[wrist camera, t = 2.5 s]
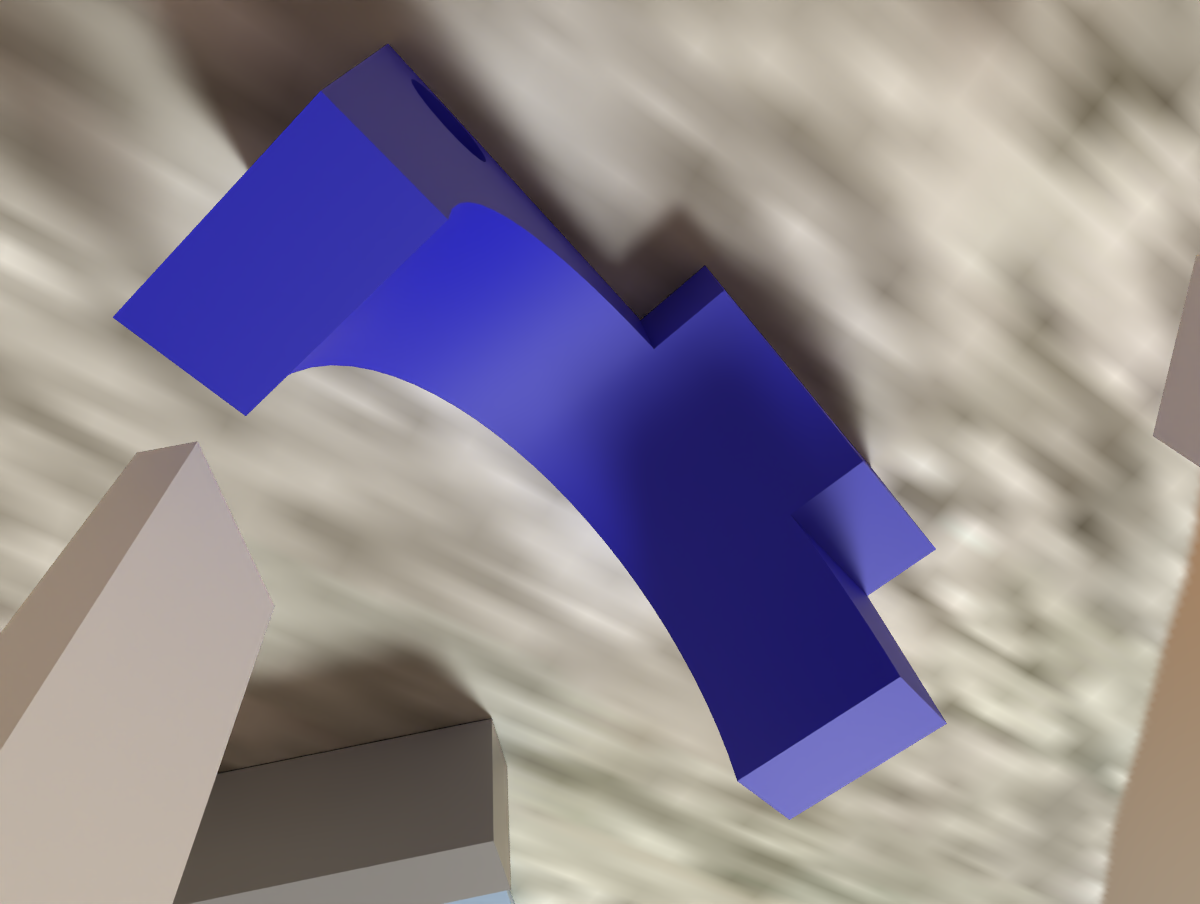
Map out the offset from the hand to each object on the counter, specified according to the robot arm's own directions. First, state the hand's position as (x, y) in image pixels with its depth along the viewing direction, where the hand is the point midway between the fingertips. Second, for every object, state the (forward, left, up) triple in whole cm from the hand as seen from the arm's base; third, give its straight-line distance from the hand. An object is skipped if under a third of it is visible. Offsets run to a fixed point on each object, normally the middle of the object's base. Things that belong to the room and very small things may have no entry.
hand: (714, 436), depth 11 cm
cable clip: (0, -1, -5) cm, 5 cm away
